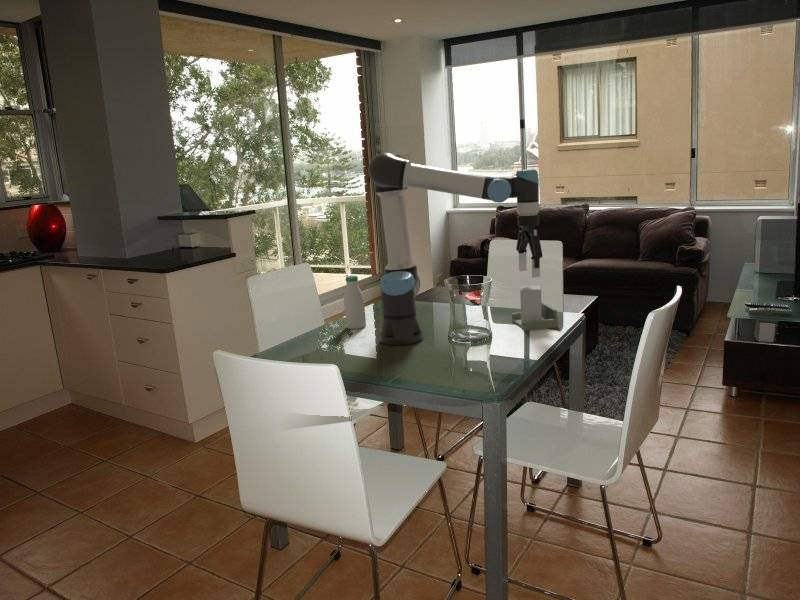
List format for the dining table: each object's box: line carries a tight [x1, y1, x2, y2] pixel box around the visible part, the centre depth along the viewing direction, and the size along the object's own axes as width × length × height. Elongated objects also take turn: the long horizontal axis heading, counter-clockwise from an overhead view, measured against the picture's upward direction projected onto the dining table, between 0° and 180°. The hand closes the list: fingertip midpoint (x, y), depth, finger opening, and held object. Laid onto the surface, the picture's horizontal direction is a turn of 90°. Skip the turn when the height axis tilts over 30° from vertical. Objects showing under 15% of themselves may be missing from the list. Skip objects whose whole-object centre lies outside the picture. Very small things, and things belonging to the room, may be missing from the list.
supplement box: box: [519, 285, 542, 324], centre depth 235 cm, size 7×7×13 cm
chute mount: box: [511, 302, 559, 332], centre depth 235 cm, size 12×15×6 cm
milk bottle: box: [343, 275, 367, 330], centre depth 250 cm, size 8×8×20 cm
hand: (529, 273), depth 232 cm, fingers open, 13 cm apart
